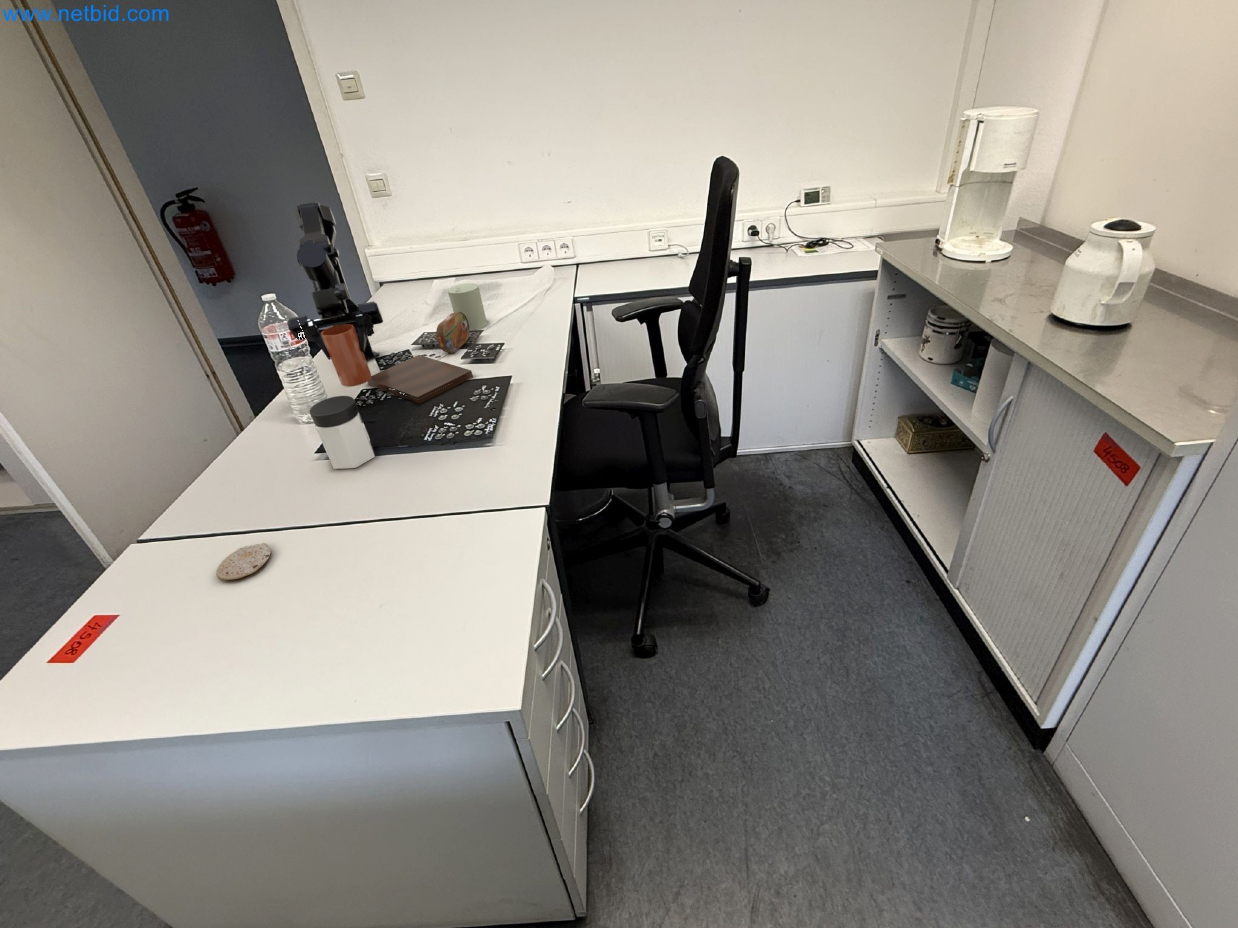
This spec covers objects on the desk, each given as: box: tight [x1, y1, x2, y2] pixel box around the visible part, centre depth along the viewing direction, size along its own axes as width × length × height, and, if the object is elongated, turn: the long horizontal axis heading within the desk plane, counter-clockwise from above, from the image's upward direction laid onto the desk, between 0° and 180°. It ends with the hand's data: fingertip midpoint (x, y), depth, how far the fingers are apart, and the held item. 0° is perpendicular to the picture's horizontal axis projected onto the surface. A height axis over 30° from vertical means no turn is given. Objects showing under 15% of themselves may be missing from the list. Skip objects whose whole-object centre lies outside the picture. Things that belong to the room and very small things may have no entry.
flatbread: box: [215, 542, 272, 581], centre depth 92 cm, size 8×8×1 cm
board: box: [366, 354, 474, 405], centre depth 145 cm, size 22×16×2 cm
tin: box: [435, 312, 471, 353], centre depth 161 cm, size 15×3×8 cm, turn 168°
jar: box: [309, 395, 376, 470], centre depth 113 cm, size 9×8×12 cm
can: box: [447, 282, 488, 332], centre depth 173 cm, size 9×9×12 cm
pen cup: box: [320, 324, 372, 388], centre depth 129 cm, size 7×7×12 cm
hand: (346, 355), depth 128 cm, fingers closed on pen cup, 7 cm apart
